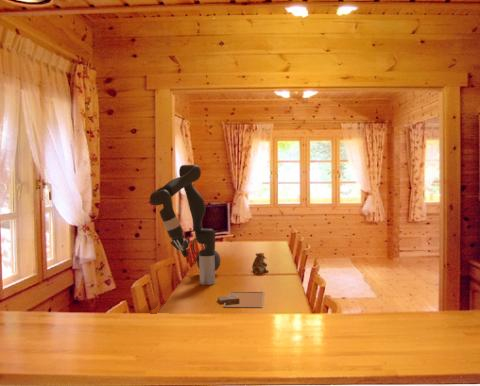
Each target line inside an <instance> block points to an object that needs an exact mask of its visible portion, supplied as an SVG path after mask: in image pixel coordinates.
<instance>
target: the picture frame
mask: <svg viewBox="0 0 480 386" xmlns="http://www.w3.org/2000/svg"><path fill="white" fill-rule="evenodd" d="M235 295H236V296H237V297H239V301H236V302H227V303H226V302H225V303H224V304H223V306H222V308H226V309H233V308H234V309H235V308H236V309H240V308H241V309H263V306H264V305H263V304H264V299H265V292H264V291H229V293H228V295H227V296H235Z"/></svg>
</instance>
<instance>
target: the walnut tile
mask: <svg viewBox="0 0 480 386" xmlns="http://www.w3.org/2000/svg"><path fill="white" fill-rule="evenodd" d="M217 301H218V303H219V304H220V305H221V304H223V305H224V303H225V302H226V303H227V302H236V301H239V297H237V296H236V295H235V296H228V295H226V296H217Z"/></svg>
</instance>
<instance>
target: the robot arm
mask: <svg viewBox="0 0 480 386" xmlns="http://www.w3.org/2000/svg"><path fill="white" fill-rule="evenodd" d="M178 173H179V177H176V178H173V179H171V180H170V181H168V182H167V183H166V184H164V185H163V186H162V187H160V188H157V189H156V190H155V191H153V192H152V193H151V194H150V196H149V202H150V203H151V204H152V205H153V206H161V205H162V206H163V207H162V209H161V210H159V215H160V217H161V221H162V222H163V225H164V227H165V230H166V232H167V234H168V237H169V238H171V240H172V241H171V242H170V244H171V246H173V247H174V248H175V250H177V251H180V253H181V254H182V256H183V258H187V257H188V256H189V253H188V251H187V249H188V248H189V242H190V239H189V238H185V235H184V234H183V233H184V230H183V228H182V225H181V224H180V221H179V219H178V217H177V215H176V213H175V209H174V208H173V201H172V197H173V196H175V195H176V194H177V193H179V191H181V190H182V189H184V192H185V195H186V199H187V204H188V208H189V211H190V212H189V213H190V215H191V218H192V222H193V228H194V235H195V238H196V242H197V243H198V244H201V245H205V244H207V247H206V248H205V247H204V248H203V249H201V250H199V252H198V254H199V265H200V269H199V285H202V286H210V285H215V284H216V271H215V259H214V252H215V251H216V235H215V234H216V232H215V230H214V229H213V228H203V223H202V222H203V218H204V217H205V214H206V211H207V210H206V209H207V208H206V204H205V200H204V197H203V196H202V195H201V193H200V192H199V191H198V190H197V189H196V188H195V186H194V184H193V183H194V182H197V181H198V180H199V179H200V178H201V174H202V171H201V168H200V166H199V165H197V164H182V165H180V167H179V171H178Z"/></svg>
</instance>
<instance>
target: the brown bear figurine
mask: <svg viewBox="0 0 480 386" xmlns="http://www.w3.org/2000/svg"><path fill="white" fill-rule="evenodd" d="M255 256H256V257H255V258H254V260H253V263H252V265H251V268H252V271H253V274H256V275H258V274H261V273H267V274H268V273H269V270H268V269H267V268H266V267H268V263H267V262H265V261H264V260H267V257H266V256H265V253H264V252H258V253H257V252H256V253H255Z"/></svg>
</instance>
